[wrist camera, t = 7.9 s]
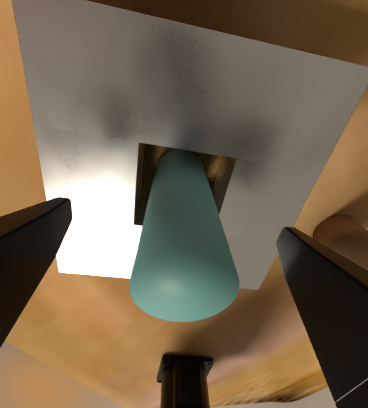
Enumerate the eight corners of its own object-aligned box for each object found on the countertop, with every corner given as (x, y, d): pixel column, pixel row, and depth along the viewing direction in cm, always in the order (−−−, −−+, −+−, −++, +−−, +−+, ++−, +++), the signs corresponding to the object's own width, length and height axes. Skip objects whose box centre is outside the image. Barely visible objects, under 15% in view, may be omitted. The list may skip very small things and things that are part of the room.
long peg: (198, 197, 15) (222, 325, 7) (153, 190, 14) (127, 317, 7) (209, 153, 13) (255, 256, 6) (158, 144, 13) (132, 242, 5)
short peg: (340, 248, 18) (384, 293, 14) (305, 244, 17) (341, 289, 14) (362, 217, 16) (419, 259, 12) (325, 212, 16) (371, 253, 12)
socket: (246, 260, 18) (258, 289, 16) (77, 242, 17) (59, 272, 14) (330, 71, 11) (376, 68, 9) (53, 8, 10) (8, -19, 7)
